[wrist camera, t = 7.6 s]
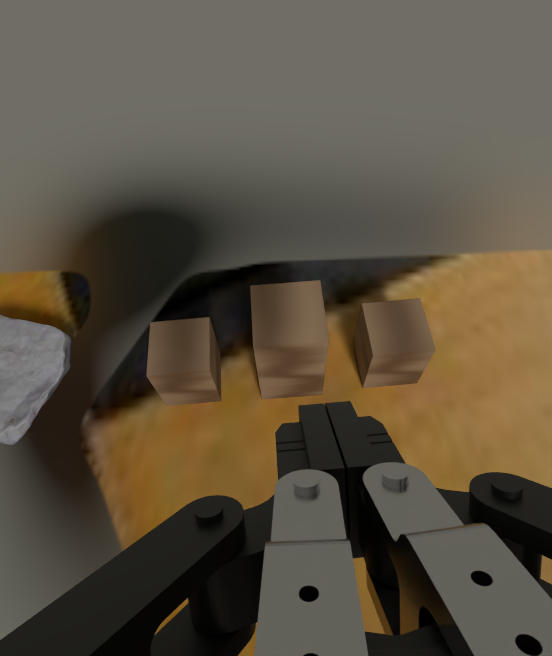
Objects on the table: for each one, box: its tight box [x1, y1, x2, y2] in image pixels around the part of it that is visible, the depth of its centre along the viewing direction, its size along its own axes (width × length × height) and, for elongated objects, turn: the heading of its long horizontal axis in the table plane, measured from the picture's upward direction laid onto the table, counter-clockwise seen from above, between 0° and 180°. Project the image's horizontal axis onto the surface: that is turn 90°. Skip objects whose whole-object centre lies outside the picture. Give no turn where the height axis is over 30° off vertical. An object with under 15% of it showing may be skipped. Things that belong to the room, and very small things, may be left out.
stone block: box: [0, 315, 72, 445], centre depth 42 cm, size 12×5×10 cm
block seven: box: [147, 317, 221, 406], centre depth 40 cm, size 5×5×6 cm
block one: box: [353, 298, 436, 388], centre depth 40 cm, size 5×5×6 cm
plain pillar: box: [250, 280, 329, 399], centre depth 38 cm, size 6×6×10 cm
